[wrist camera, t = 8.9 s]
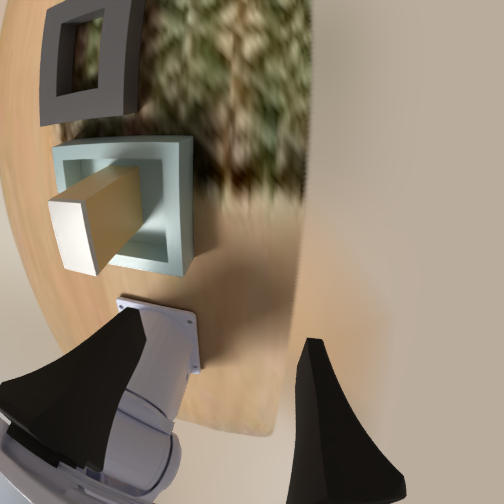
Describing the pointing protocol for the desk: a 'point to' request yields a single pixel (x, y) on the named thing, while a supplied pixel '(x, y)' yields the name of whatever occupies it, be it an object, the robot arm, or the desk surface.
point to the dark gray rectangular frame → (110, 61)
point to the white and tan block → (97, 217)
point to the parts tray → (143, 193)
